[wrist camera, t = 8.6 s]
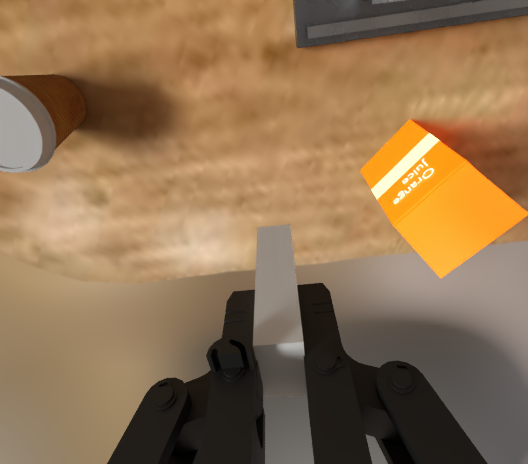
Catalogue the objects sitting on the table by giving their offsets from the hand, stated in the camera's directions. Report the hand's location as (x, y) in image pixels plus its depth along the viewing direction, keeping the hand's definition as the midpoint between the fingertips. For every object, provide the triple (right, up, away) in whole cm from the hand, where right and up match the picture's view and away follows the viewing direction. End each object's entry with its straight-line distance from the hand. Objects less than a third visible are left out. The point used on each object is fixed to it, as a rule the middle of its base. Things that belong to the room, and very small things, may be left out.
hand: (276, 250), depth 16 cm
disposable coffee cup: (-26, +17, +26) cm, 40 cm away
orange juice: (+18, +10, +30) cm, 36 cm away
